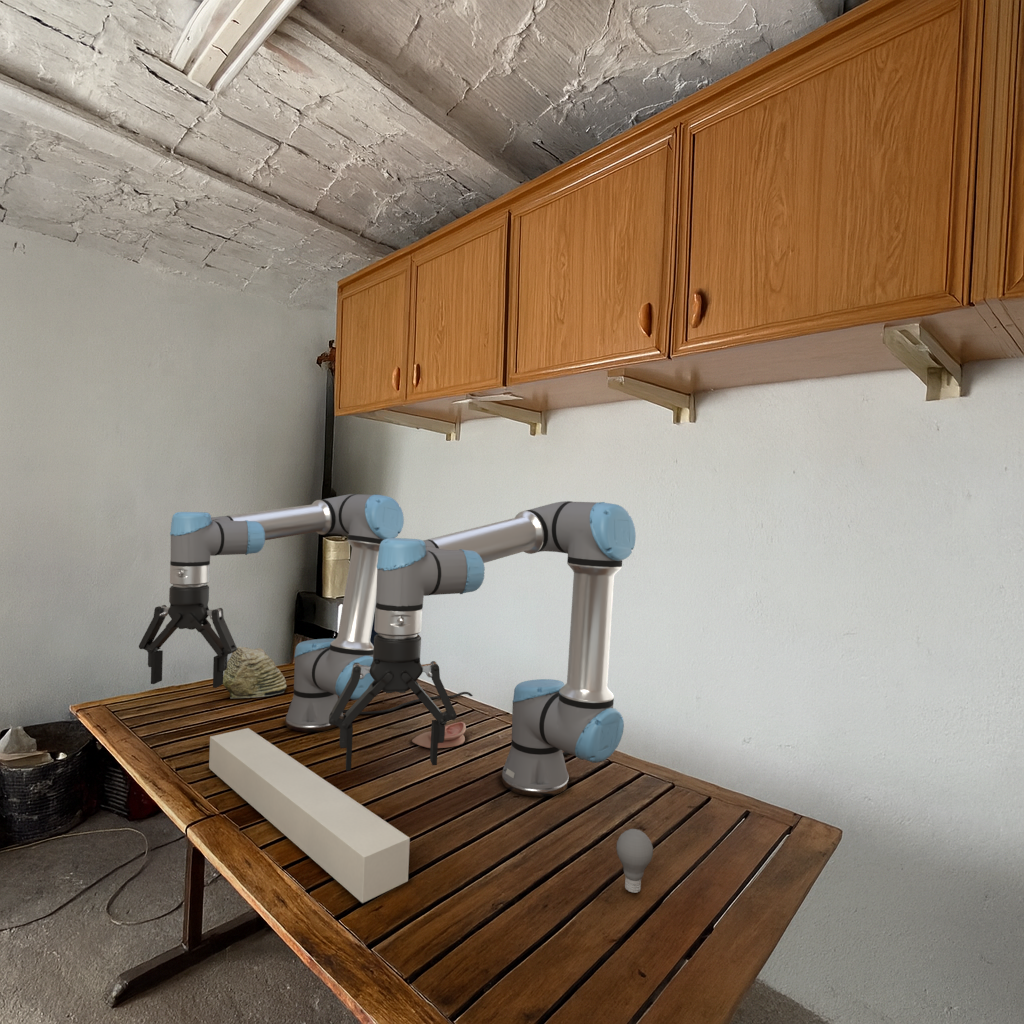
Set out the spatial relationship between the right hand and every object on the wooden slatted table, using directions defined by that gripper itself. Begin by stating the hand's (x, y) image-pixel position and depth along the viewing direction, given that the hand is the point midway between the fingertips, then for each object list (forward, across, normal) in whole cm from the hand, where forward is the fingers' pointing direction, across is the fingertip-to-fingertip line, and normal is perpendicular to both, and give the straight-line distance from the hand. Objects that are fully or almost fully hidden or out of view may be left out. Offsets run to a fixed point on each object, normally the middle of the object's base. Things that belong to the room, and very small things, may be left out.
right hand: (391, 764), depth 103 cm
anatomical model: (+20, +18, +61) cm, 67 cm away
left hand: (-1, -39, +44) cm, 59 cm away
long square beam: (+21, -16, +28) cm, 38 cm away
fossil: (+20, -32, +108) cm, 114 cm away
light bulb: (+20, +40, -8) cm, 46 cm away
